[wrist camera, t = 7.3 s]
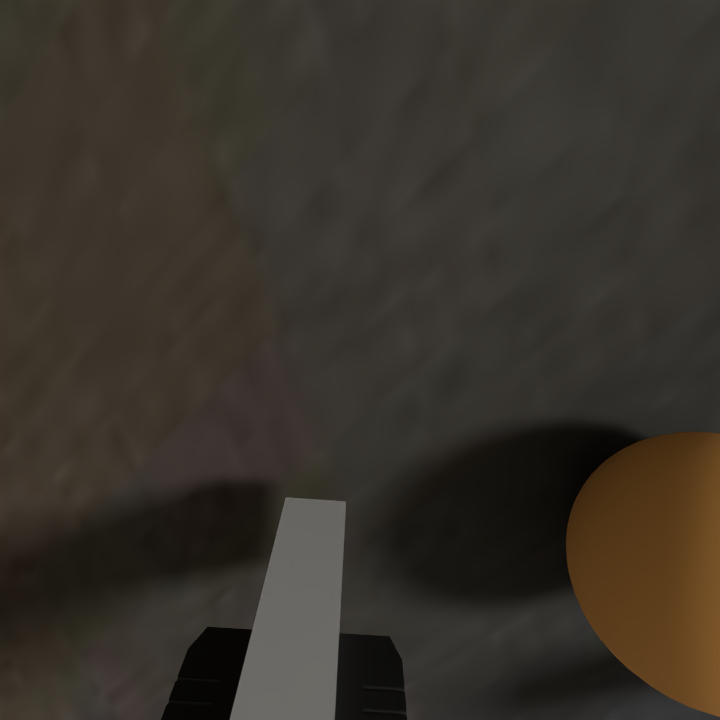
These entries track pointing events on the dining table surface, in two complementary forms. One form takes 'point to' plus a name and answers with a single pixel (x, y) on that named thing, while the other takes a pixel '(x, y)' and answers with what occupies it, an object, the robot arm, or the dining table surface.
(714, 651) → the ball
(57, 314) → the dining table surface
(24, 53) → the dining table surface
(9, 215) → the dining table surface
